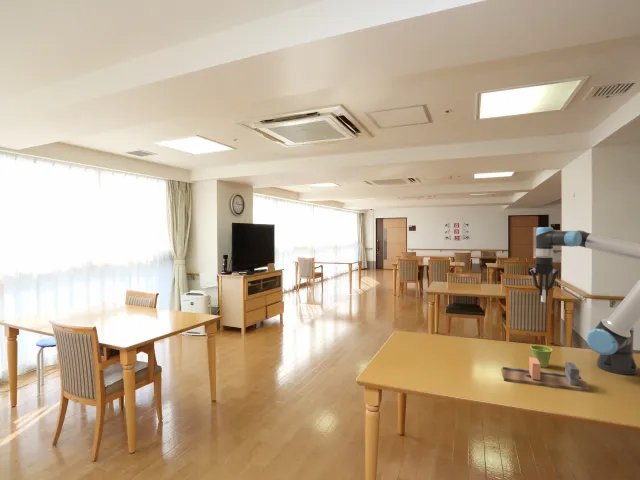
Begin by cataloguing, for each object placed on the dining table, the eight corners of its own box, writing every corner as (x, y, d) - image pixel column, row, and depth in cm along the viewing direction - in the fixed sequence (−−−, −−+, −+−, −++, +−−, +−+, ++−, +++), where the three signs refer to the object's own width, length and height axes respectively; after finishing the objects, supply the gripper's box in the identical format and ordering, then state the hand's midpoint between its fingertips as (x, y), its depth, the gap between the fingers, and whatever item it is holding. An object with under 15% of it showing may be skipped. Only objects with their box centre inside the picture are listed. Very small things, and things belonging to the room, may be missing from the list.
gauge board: (581, 380, 161) (581, 362, 161) (590, 392, 150) (590, 372, 150) (501, 370, 173) (501, 353, 172) (504, 380, 161) (504, 362, 161)
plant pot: (555, 369, 173) (556, 352, 173) (534, 368, 175) (534, 350, 175) (547, 362, 182) (547, 345, 182) (527, 361, 184) (527, 344, 184)
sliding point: (536, 373, 165) (536, 357, 165) (540, 379, 158) (540, 364, 158) (529, 372, 167) (529, 357, 166) (532, 378, 159) (532, 363, 159)
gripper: (557, 256, 189) (556, 301, 190) (528, 255, 194) (527, 299, 195) (560, 257, 182) (559, 304, 183) (531, 257, 187) (530, 302, 188)
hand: (543, 301), depth 189 cm, fingers closed
